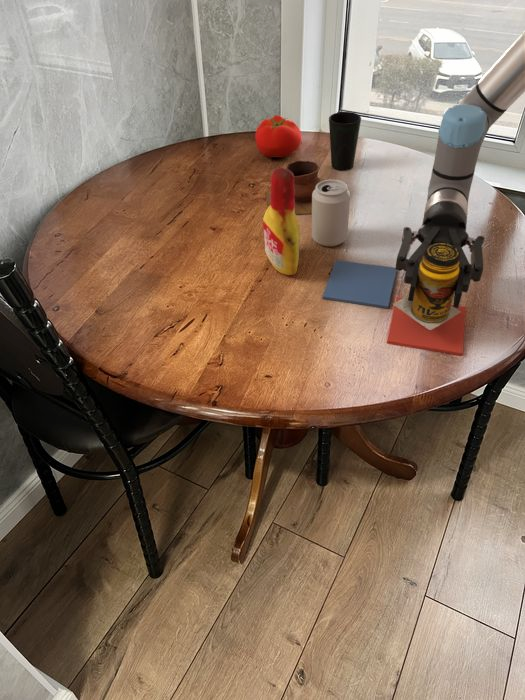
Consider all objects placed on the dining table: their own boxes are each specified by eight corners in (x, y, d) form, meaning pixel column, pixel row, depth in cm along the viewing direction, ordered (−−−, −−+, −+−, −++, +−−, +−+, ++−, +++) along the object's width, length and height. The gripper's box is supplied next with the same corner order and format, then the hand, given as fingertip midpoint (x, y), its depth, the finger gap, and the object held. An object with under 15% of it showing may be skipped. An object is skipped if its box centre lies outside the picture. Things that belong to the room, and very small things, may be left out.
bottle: (306, 278, 104) (307, 181, 90) (274, 284, 103) (270, 187, 89) (291, 245, 113) (289, 152, 99) (261, 250, 112) (255, 157, 98)
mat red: (465, 309, 95) (465, 306, 95) (461, 355, 87) (462, 353, 87) (396, 299, 98) (396, 296, 98) (386, 343, 90) (387, 340, 90)
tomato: (297, 165, 139) (297, 132, 133) (250, 162, 142) (248, 130, 136) (305, 144, 148) (306, 112, 142) (261, 142, 150) (260, 110, 144)
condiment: (430, 331, 86) (444, 269, 78) (392, 304, 91) (401, 244, 83) (461, 313, 89) (478, 251, 81) (422, 288, 94) (434, 228, 86)
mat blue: (396, 270, 104) (397, 267, 104) (388, 308, 96) (388, 306, 96) (335, 262, 107) (335, 259, 107) (322, 298, 99) (322, 296, 99)
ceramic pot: (265, 216, 121) (264, 187, 117) (264, 179, 134) (263, 152, 129) (346, 212, 121) (347, 183, 116) (336, 175, 134) (338, 148, 129)
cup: (326, 159, 141) (328, 112, 132) (356, 158, 140) (359, 111, 132) (328, 173, 135) (329, 124, 127) (358, 172, 135) (362, 123, 126)
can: (316, 227, 117) (317, 175, 109) (350, 232, 115) (354, 179, 107) (307, 245, 112) (307, 192, 104) (342, 251, 110) (346, 197, 102)
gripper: (495, 244, 98) (494, 326, 82) (389, 231, 103) (369, 306, 87) (506, 206, 93) (507, 286, 77) (394, 195, 97) (373, 268, 82)
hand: (434, 297), depth 82 cm, fingers closed on condiment, 6 cm apart
